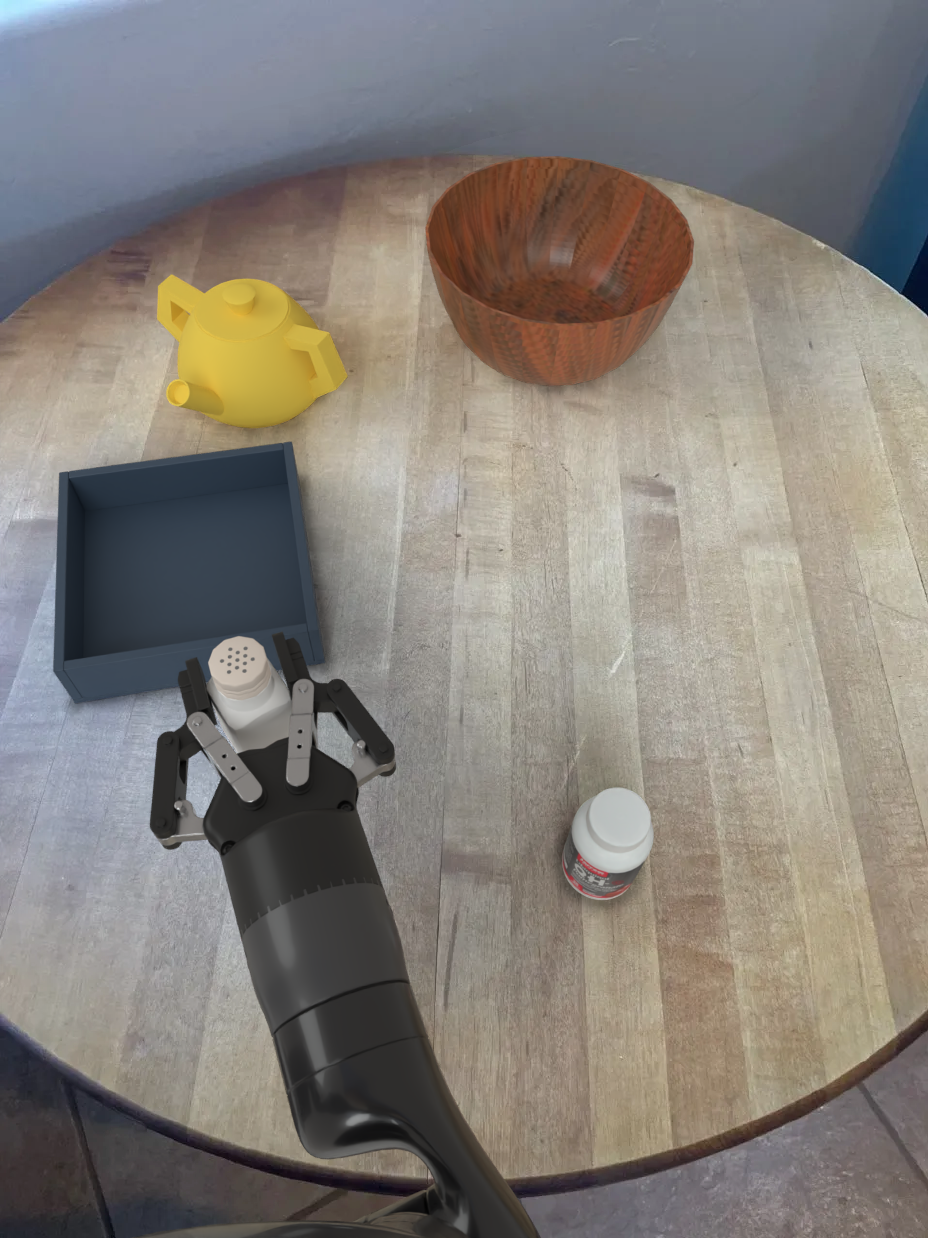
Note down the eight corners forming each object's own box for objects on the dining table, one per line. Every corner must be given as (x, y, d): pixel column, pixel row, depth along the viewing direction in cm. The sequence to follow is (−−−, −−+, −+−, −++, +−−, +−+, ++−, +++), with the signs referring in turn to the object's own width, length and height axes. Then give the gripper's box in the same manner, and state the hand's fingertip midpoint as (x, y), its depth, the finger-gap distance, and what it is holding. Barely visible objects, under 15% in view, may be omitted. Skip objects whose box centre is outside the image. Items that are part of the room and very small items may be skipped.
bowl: (376, 323, 99) (369, 225, 89) (547, 224, 108) (558, 126, 99) (547, 461, 89) (560, 368, 80) (719, 340, 99) (750, 243, 89)
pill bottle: (561, 900, 68) (578, 854, 59) (560, 827, 70) (576, 773, 62) (638, 904, 68) (665, 858, 59) (634, 830, 70) (659, 777, 62)
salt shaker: (221, 728, 61) (188, 651, 53) (276, 697, 63) (252, 617, 55) (250, 776, 60) (221, 704, 52) (307, 743, 61) (286, 668, 53)
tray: (74, 703, 75) (52, 671, 71) (77, 510, 85) (58, 471, 81) (325, 663, 77) (318, 629, 73) (299, 479, 88) (291, 441, 83)
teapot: (104, 426, 91) (65, 334, 81) (212, 309, 100) (189, 214, 90) (287, 499, 86) (269, 411, 77) (383, 370, 95) (377, 278, 86)
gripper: (448, 849, 47) (345, 582, 56) (157, 955, 44) (96, 656, 53) (448, 895, 54) (355, 649, 62) (193, 991, 51) (132, 718, 59)
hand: (236, 653), depth 57 cm, fingers closed on salt shaker, 4 cm apart
